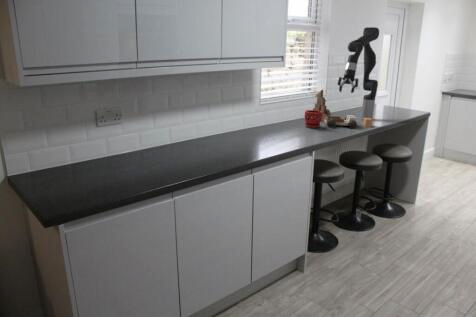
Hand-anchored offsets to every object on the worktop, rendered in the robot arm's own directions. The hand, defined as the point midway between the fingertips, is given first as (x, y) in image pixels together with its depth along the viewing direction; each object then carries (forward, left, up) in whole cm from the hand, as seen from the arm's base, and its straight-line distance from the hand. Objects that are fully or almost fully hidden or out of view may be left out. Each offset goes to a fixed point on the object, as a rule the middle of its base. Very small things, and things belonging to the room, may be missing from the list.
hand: (346, 92), depth 283 cm
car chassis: (-14, +1, -28) cm, 31 cm away
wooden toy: (-32, -11, -28) cm, 44 cm away
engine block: (-16, +23, -28) cm, 39 cm away
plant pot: (-6, -21, -28) cm, 35 cm away
